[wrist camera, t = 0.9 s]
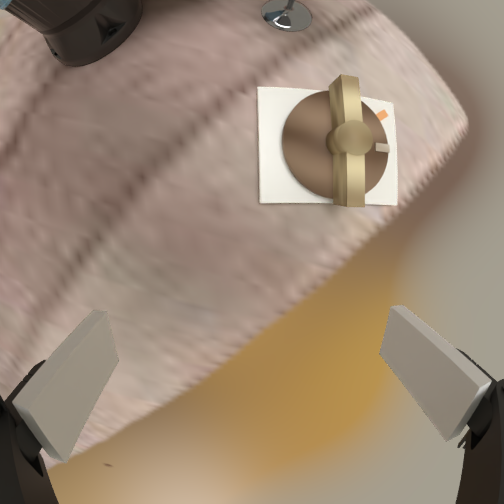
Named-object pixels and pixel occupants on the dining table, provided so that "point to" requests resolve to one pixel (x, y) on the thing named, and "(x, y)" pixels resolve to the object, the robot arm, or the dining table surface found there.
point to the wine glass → (286, 15)
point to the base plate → (273, 162)
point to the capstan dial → (336, 144)
